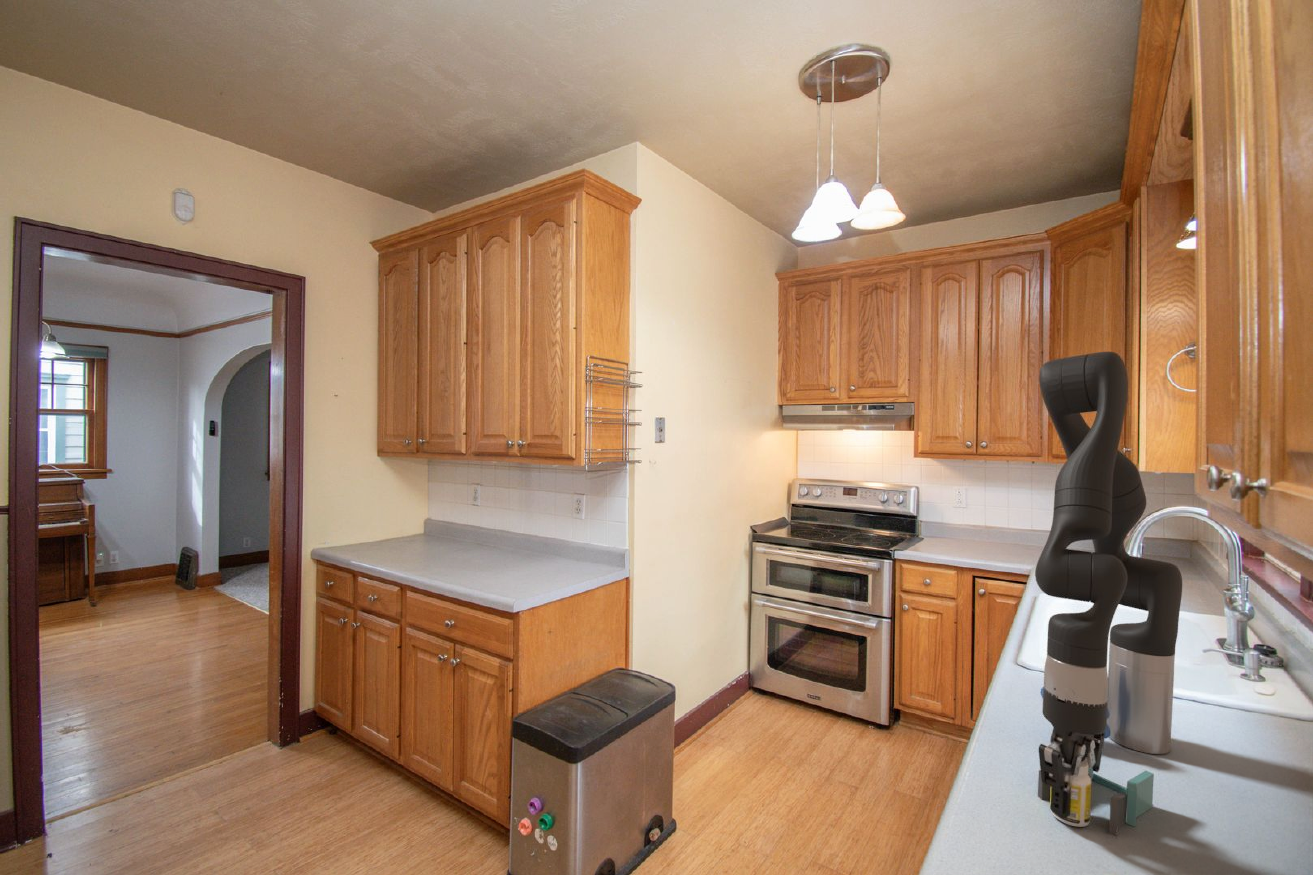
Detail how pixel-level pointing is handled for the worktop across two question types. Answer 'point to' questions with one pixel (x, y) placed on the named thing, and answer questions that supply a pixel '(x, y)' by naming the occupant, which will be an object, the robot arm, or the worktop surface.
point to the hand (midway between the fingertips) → (1069, 807)
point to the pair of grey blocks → (1116, 806)
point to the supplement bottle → (1078, 798)
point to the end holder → (1134, 794)
